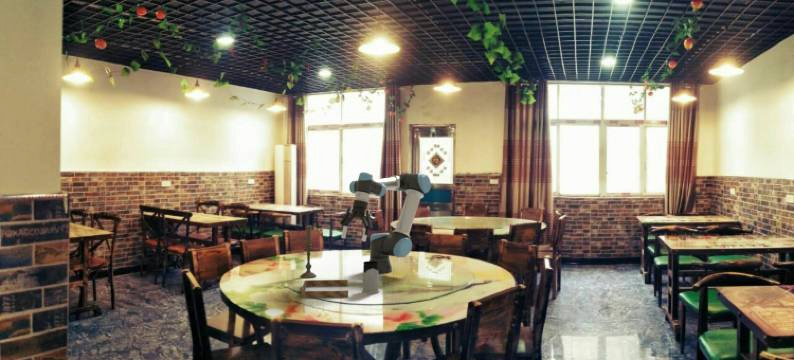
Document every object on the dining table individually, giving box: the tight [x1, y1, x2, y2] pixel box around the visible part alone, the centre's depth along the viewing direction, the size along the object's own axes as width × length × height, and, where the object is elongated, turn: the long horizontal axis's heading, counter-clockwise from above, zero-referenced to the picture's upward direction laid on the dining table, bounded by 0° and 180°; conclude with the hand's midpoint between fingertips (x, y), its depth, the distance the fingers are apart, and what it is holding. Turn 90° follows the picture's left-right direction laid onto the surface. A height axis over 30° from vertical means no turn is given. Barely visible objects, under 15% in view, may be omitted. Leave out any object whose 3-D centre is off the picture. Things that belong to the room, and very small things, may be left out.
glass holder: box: [361, 260, 380, 295], centre depth 248 cm, size 9×14×15 cm, turn 15°
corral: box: [300, 279, 349, 299], centre depth 246 cm, size 22×24×3 cm
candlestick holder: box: [299, 225, 317, 279], centre depth 279 cm, size 9×9×30 cm
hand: (353, 239), depth 259 cm, fingers open, 13 cm apart
